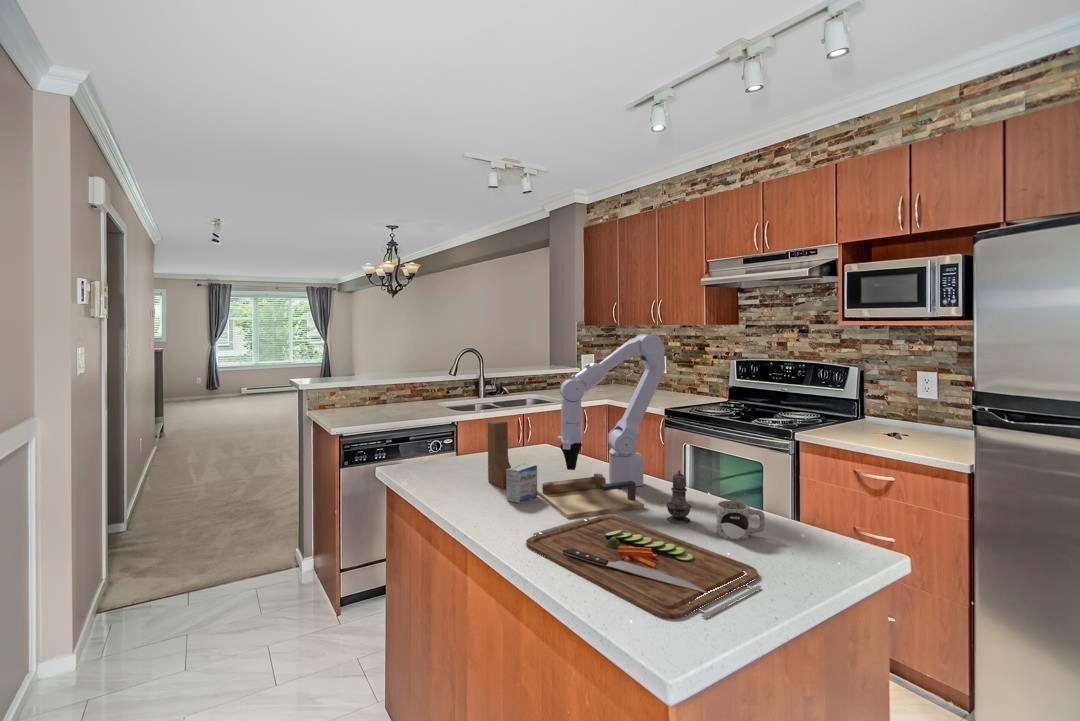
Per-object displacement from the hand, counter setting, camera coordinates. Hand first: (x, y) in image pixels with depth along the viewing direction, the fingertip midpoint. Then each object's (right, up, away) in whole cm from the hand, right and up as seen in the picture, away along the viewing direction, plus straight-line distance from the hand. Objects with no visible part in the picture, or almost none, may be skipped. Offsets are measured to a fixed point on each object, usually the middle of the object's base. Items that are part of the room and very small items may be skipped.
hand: (571, 469), depth 160 cm
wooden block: (-20, -5, +3) cm, 21 cm away
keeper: (+12, -6, -16) cm, 21 cm away
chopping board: (+10, -9, -49) cm, 51 cm away
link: (+1, -4, -7) cm, 8 cm away
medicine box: (-14, -6, -11) cm, 18 cm away
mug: (+35, -8, -37) cm, 52 cm away
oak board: (+4, -6, -13) cm, 14 cm away
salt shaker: (+24, -7, -28) cm, 37 cm away
